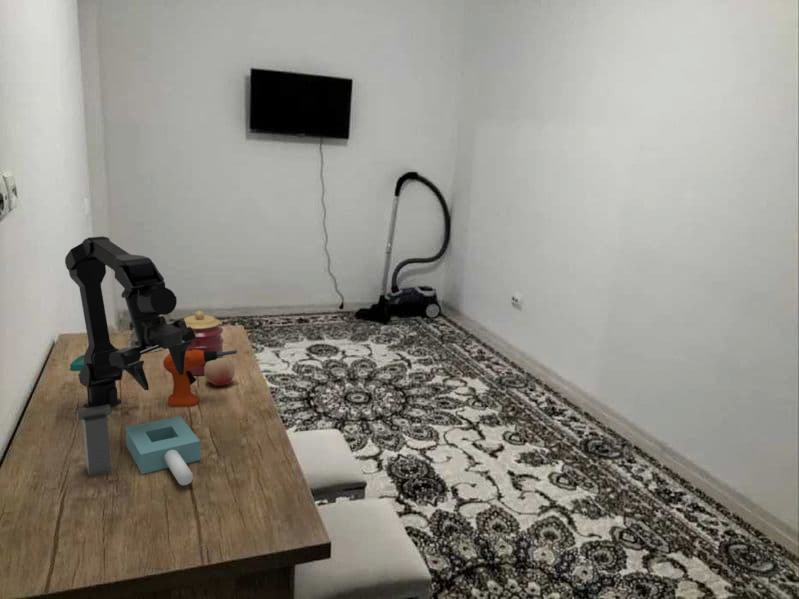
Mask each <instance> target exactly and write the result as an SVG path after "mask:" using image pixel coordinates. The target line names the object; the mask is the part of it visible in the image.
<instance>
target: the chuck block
mask: <svg viewBox="0 0 799 599" xmlns="http://www.w3.org/2000/svg"><path fill="white" fill-rule="evenodd" d="M124 430H125V443H126V444H125V445H126V446H125V447H127V450H128V451H130V452H129V454H130V456H131V457H132V459H133V461H134V463H135V464H137V465H136V466H138V467H137V468H138V471H139V472H140V474H141V475H145V473H146V474H150V473H153V471H154V472H158V471H161V470H166V469H169V470H170V472H171V473H172V474H173V475H172V476H174V478H175V479H176V481H177V482H178V484H179V485H180V486H187V485H189V484H190V483H191V482H193V479H194V473H193V472H192V470H191V469H190V467H189V466H188V465H187V464H191V463H194V462H198V461H201V440H200V439H199V438H198V437H197V435H196V434H195V432H193V430H192V429H191V427H190V426H189V425H188V423H186V421H185V420H184V418H183V417H182V416H181V415H179V416H175V417H170V418H164V419H161V420H160V419H159V420H155V421H149V422H146V423H141V424H135V425H134V424H133V425H130V426H125V428H124Z"/></svg>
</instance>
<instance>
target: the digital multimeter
mask: <svg viewBox="0 0 799 599" xmlns="http://www.w3.org/2000/svg"><path fill="white" fill-rule="evenodd" d="M84 355H85V354H81V355H79V356H78V357H77V358H75V359H74V360H72V361H71V363H70V364H69V365H70V368H69V369H70V371H76V372H78V371H79V372H80V371H81V369H82V368H83V366H84ZM124 370H125V369H124V368H123V371H124Z"/></svg>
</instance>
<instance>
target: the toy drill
mask: <svg viewBox="0 0 799 599" xmlns="http://www.w3.org/2000/svg"><path fill="white" fill-rule="evenodd" d="M237 352H238V351H237V349H236V350H235V349H234V350H228V351H223V352H219V353H217V351H201V350H192V351H187V350H186V353H185V361H184V373H183V375H179V373H178V371H177V369H176V367H175V364H174V362H173V359H172V357H171V354H170V353H168V354H167V355H166V356H165V357H164V359H163V364H162V365H163V367H164V369H165V370H166V371H167V372H168V373H170V374H171V376H172V380H173V388H172V394H171V395H168V399H167V404H168V406H170V407H173V408H174V407H175V408H176V407H177V408H178V407H179V408H180V407H181V408H183V407H193V406H196V405H199V403H200V396H199V395H196V394H194V393H193V392H192V390H191V386H192V385H193V384H194V383H195V382H196V381H197V378H195V377H194V375H192V373H191V372H190V371H188V370H190V369H192V368H195V367H197V366H200V365H202V364H204V363H205V362H209V361H211V360H216V359H217V358H218V357H219V356H223V357H224V356H229V355H234V354H237Z"/></svg>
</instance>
